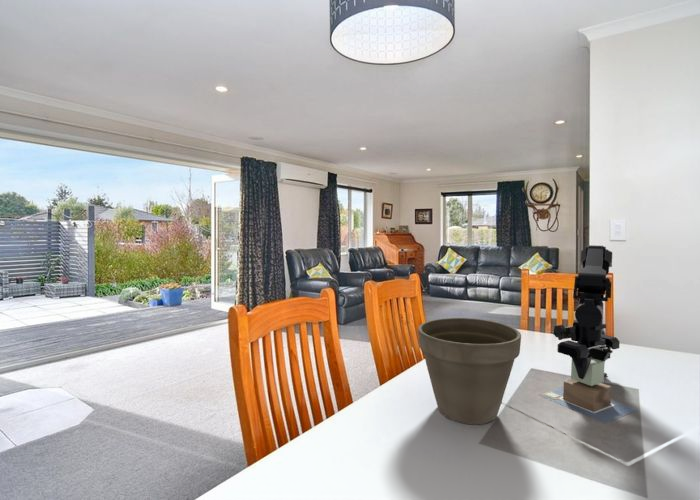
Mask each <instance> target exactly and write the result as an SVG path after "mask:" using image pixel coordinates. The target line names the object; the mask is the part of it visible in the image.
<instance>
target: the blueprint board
mask: <svg viewBox="0 0 700 500" xmlns="http://www.w3.org/2000/svg"><path fill="white" fill-rule="evenodd" d="M563 391H564V386H563V387H560V388H557V389H553V390H550V391H547V392H544V393H543V392H542V393H541V394H538V396H540V397H541V398H544V399H547V400H549V401H552V402H554V403H556V404H559V405H560V406H563V407H566V408H567V409H571V410H573V411H576V412H577V413H580V414H582V415H585V416H587V417H588V418H592V419H594V420H596V421H599V422H601V423H604V424H608V423H610V422H613V421H616V420H618V419H621V418H622V417H625V416H627V415H629V414H632V413H634V412H636V411H639V409H638V408H635V407H632V406H630V405H627V404H625V403H622V402H618V401H616V400H614V399H611V405H609V406H606V407H603V408H601V409H598V410H595V411H591V410H588V409H586V408H583V407H581V406H578V405H576V404H573V403H571V402H569V401H566V400H564V399H563Z"/></svg>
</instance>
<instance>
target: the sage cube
mask: <svg viewBox="0 0 700 500" xmlns="http://www.w3.org/2000/svg"><path fill="white" fill-rule="evenodd" d="M605 363H606V361H605V362H604V361H600V360H597V359H593V358H592V359H591V362H590V365H589V367H588V370H587V372H586V375H585V377H584V379H580V378H579V377H578V374H577V371H576V368H575V365H574V362H573V360H572V359H571V366H570V367H571V370H570V371H571V372H570V379H573V380H576V381H579V382H582V383H585V384H587V385H590V386H593V385H596V384H599V383H604V382H605V381H604V380H605V376H604V373H605Z"/></svg>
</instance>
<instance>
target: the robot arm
mask: <svg viewBox="0 0 700 500" xmlns="http://www.w3.org/2000/svg"><path fill="white" fill-rule="evenodd" d="M579 260H580V261H579V263H580V266H582V268H580V269H579V270H578V275H575V276H574V285H573V294H572V295H573V296H572V298H573V299H578V301H577V304H578V305H577V307H576V309H575V313H574V317H575V320H576V321H574V322H572V325H571V326H564V324H558V325H554V326H553V336H554V337H555V338H557V340H558V341H561V342H559V343H558V344H557V346H556V347H557V353H559V354H562V355H565V356H569V358H571V361H572V360H573V362H574V365H575V368H576V371H577V374H578V377H579V378H580V379H584V377H585V375H586V372H587V370H588V367H589V365H590V362H591V359H592V358H593V359H597V360H600V361H604V362H605V363H606V361H607V360H609V359H611V354H613V352H614V351H613V350H618V349H620V340H619V339H618V337H616V336H611V335H608V334H607V333H606V331H605V329H607V323H603V322H604V302H606V303H607V302H608V301H609V299H611V298H612V281H611V279H610V277H607V275H608V274H609V272H610V268H613V251H610V250H609V249H607V247H606V246H604V245H593V244H592V245H586V246H585V248H584V249H582V250H581V251H580V259H579ZM565 339H567V340H565ZM569 339H570V340H569ZM562 340H564V341H562ZM611 349H612V350H611ZM607 376H608V373H607V372H604V377H607Z"/></svg>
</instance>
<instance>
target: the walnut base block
mask: <svg viewBox="0 0 700 500" xmlns="http://www.w3.org/2000/svg"><path fill="white" fill-rule="evenodd" d="M563 387H564V391H563V399H564V400H566V401H569V402H571V403H573V404H576V405H578V406H581V407H583V408H586V409H588V410H591V411H595V410H598V409H601V408H603V407H606V406H609V405H611V400H612V386H611V385H608V384H605V383H604V382H602V383H599V384H596V385H593V386H590V385H587V384H585V383H582V382H579V381H576V380H573V379H571V378H570V379H567V380H565V381H563Z"/></svg>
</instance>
